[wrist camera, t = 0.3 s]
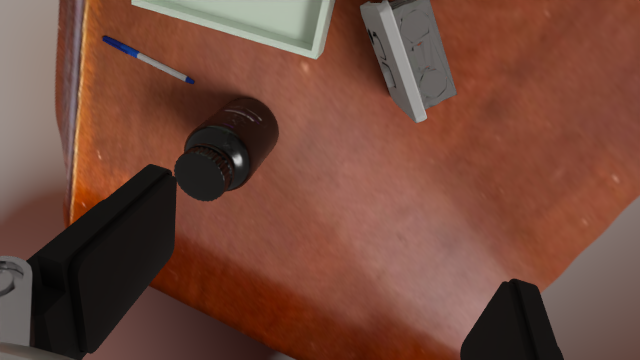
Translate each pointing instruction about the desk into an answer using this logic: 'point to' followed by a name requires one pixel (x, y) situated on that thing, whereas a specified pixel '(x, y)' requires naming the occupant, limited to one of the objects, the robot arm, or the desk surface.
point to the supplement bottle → (226, 149)
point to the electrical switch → (409, 54)
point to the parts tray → (258, 20)
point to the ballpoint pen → (146, 59)
